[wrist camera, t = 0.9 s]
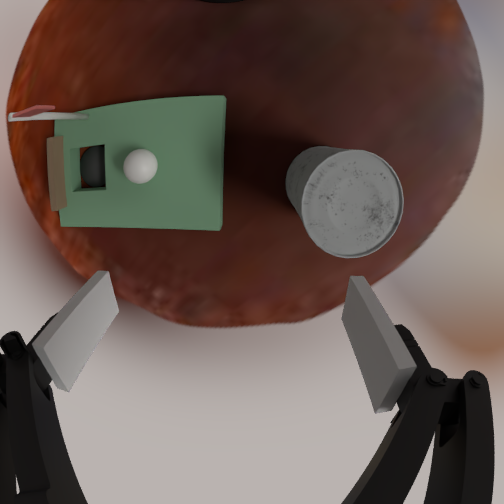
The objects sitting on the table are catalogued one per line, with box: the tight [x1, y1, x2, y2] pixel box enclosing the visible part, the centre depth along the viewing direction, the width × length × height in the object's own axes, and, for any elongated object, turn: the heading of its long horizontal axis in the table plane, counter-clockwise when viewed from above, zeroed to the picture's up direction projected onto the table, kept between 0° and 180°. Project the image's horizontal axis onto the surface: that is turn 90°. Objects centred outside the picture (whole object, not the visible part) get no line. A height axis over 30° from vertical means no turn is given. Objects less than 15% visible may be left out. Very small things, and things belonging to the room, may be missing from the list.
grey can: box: [286, 146, 404, 258], centre depth 28 cm, size 10×10×12 cm
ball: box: [123, 149, 158, 184], centre depth 28 cm, size 4×4×4 cm
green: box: [8, 96, 226, 231], centre depth 25 cm, size 16×24×16 cm, turn 87°
